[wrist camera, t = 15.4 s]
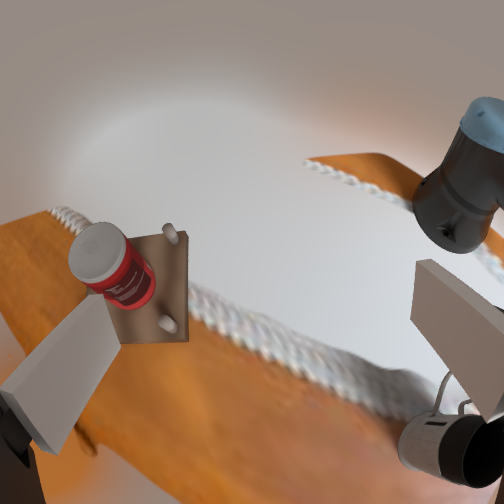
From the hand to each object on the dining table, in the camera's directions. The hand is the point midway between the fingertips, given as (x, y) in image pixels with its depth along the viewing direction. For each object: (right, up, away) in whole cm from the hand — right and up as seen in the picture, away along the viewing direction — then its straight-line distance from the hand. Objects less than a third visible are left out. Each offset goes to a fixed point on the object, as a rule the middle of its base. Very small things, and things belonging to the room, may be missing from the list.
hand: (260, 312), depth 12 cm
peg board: (-17, -3, +31) cm, 36 cm away
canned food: (-17, -3, +29) cm, 34 cm away
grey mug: (+22, -20, +19) cm, 36 cm away
